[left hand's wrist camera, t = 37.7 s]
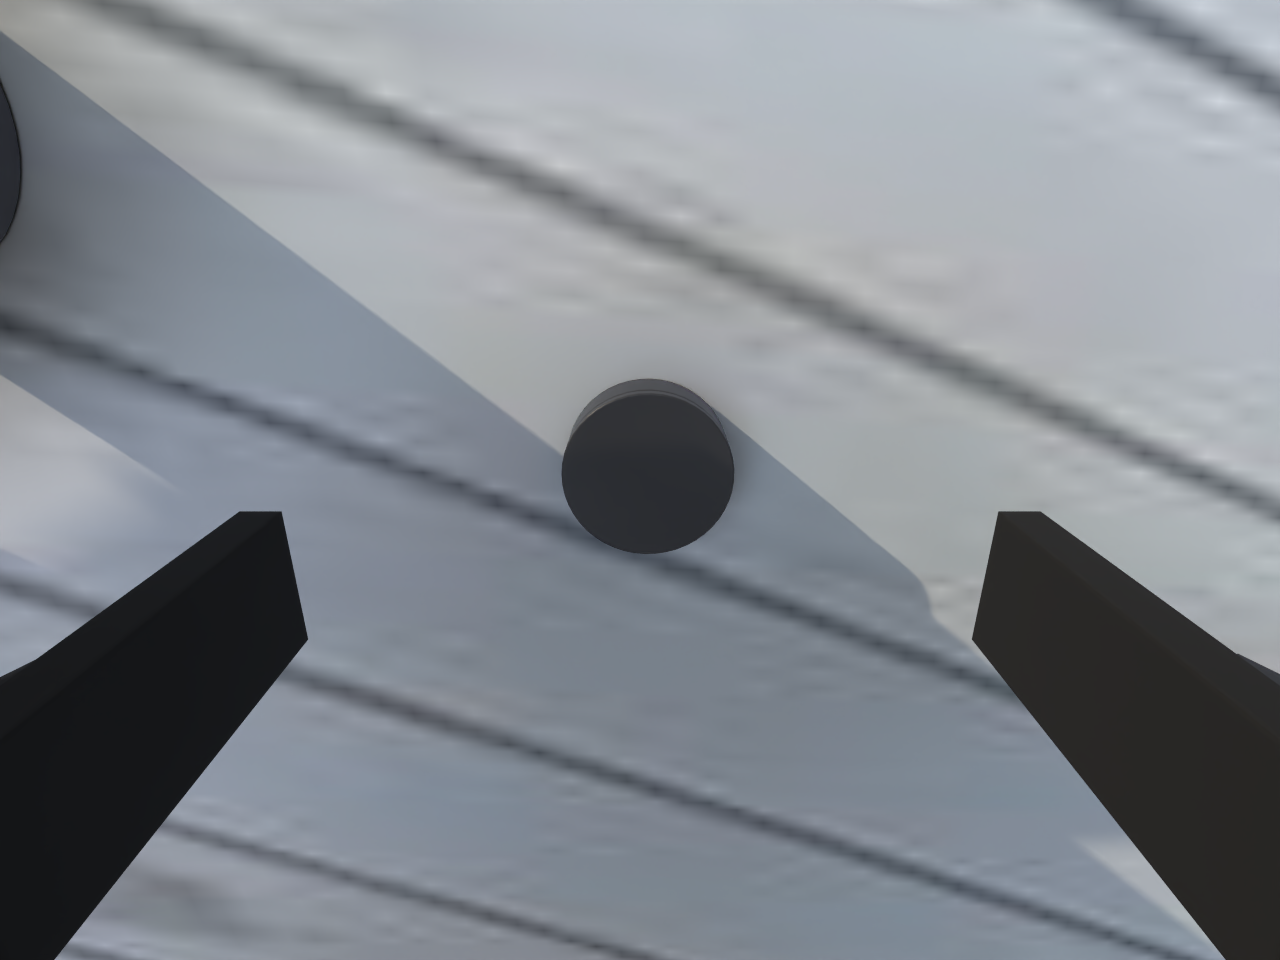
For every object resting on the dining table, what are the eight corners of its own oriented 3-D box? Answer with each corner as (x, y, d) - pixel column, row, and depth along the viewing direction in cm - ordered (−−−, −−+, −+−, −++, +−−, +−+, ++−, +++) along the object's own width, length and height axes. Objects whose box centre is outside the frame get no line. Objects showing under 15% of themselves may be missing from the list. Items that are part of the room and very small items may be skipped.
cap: (757, 473, 18) (766, 495, 17) (630, 554, 19) (628, 582, 18) (667, 345, 17) (669, 358, 15) (535, 438, 18) (526, 458, 16)
